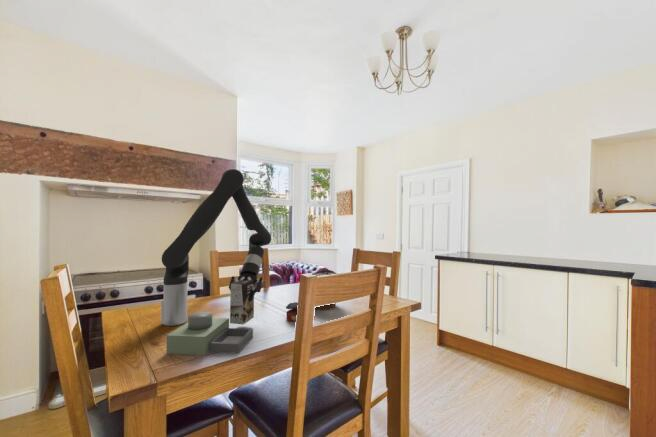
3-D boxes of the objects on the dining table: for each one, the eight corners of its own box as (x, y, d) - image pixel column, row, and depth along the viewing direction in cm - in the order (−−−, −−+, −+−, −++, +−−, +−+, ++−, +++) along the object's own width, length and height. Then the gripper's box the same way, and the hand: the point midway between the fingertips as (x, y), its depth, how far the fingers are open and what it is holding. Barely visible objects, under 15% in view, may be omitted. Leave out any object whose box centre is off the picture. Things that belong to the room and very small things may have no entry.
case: (313, 314, 134) (314, 276, 134) (300, 303, 152) (300, 270, 152) (347, 310, 141) (347, 274, 141) (330, 300, 159) (331, 268, 160)
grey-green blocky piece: (166, 353, 95) (166, 323, 95) (196, 332, 113) (196, 307, 113) (235, 356, 93) (236, 325, 93) (254, 334, 111) (254, 308, 111)
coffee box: (244, 325, 113) (244, 284, 113) (229, 323, 114) (229, 283, 114) (254, 317, 122) (255, 279, 122) (240, 316, 123) (241, 278, 123)
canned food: (286, 330, 127) (277, 309, 129) (300, 321, 136) (291, 301, 138) (302, 323, 121) (293, 301, 123) (316, 314, 130) (307, 294, 132)
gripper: (233, 261, 126) (221, 294, 114) (265, 262, 125) (256, 295, 113) (238, 271, 131) (226, 304, 119) (268, 271, 130) (260, 305, 118)
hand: (241, 299), depth 116 cm, fingers closed on coffee box, 7 cm apart
